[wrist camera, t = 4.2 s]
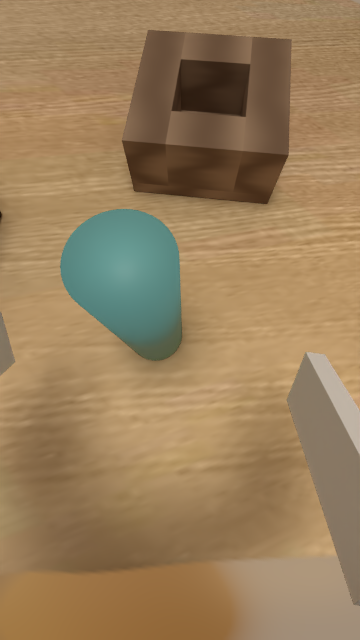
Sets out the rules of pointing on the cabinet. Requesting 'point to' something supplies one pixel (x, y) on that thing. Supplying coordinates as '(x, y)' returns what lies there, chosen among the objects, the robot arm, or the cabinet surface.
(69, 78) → the cabinet surface
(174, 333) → the peg
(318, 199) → the cabinet surface
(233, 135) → the socket block
